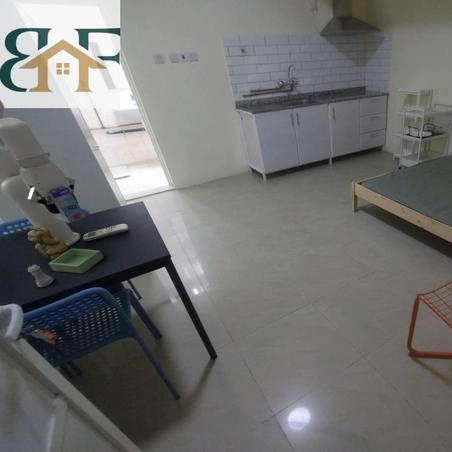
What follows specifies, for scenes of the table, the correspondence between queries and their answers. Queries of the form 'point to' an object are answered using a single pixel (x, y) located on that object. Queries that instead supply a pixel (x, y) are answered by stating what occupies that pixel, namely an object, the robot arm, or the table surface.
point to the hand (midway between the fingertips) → (65, 207)
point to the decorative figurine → (47, 242)
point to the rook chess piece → (40, 276)
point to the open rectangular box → (76, 260)
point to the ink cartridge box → (66, 205)
